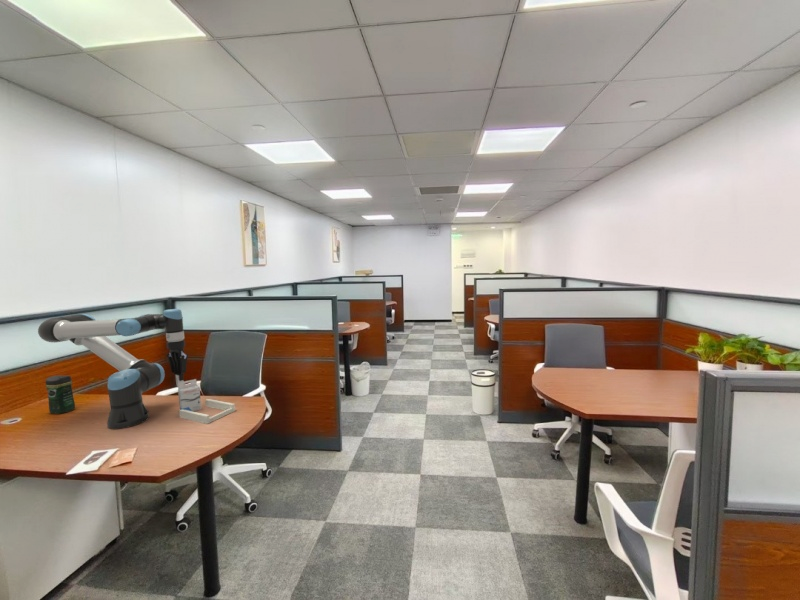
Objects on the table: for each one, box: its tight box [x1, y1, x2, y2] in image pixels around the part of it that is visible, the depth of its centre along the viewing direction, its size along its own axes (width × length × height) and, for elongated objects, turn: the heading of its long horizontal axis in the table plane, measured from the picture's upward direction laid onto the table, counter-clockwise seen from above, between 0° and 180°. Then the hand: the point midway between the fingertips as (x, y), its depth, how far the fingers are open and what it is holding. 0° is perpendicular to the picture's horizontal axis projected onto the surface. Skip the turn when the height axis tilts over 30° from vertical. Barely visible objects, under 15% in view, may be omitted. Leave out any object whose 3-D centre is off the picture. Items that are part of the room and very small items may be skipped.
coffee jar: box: [45, 375, 76, 415], centre depth 173 cm, size 10×8×19 cm
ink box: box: [177, 378, 202, 412], centre depth 168 cm, size 8×5×15 cm, turn 134°
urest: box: [178, 398, 236, 425], centre depth 164 cm, size 19×15×4 cm
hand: (180, 386), depth 171 cm, fingers closed
